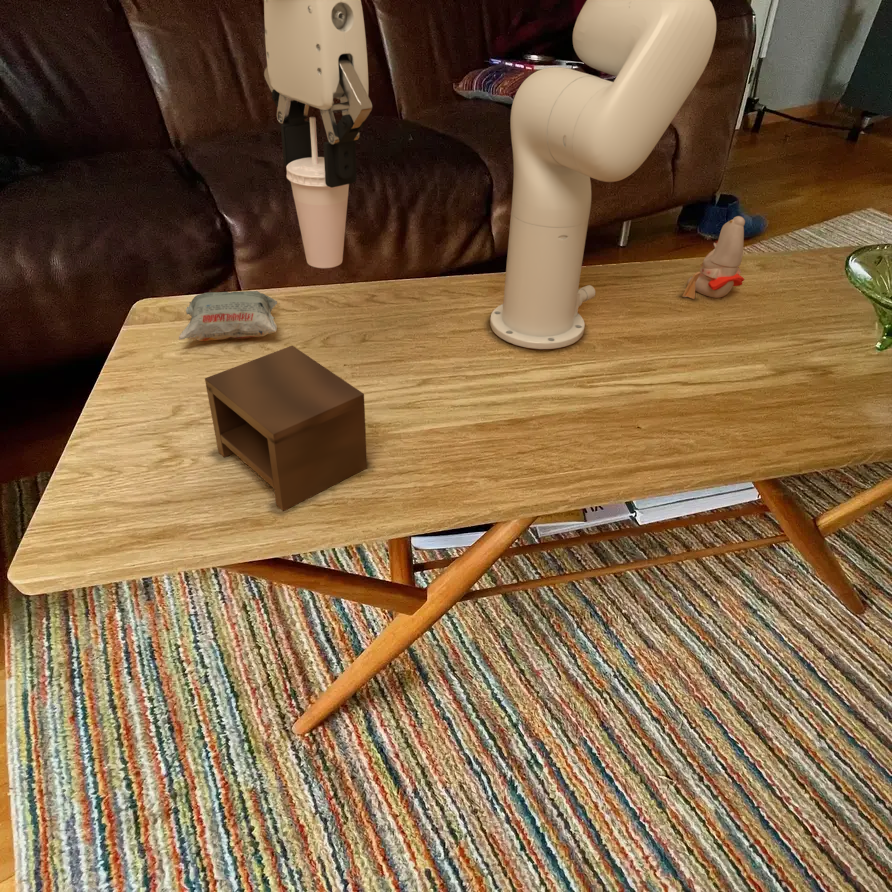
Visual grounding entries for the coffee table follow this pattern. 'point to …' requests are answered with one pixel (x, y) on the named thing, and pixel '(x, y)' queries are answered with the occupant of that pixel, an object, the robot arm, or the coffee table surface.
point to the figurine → (720, 263)
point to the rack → (289, 423)
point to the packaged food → (230, 316)
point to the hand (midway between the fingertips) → (319, 172)
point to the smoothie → (318, 208)
